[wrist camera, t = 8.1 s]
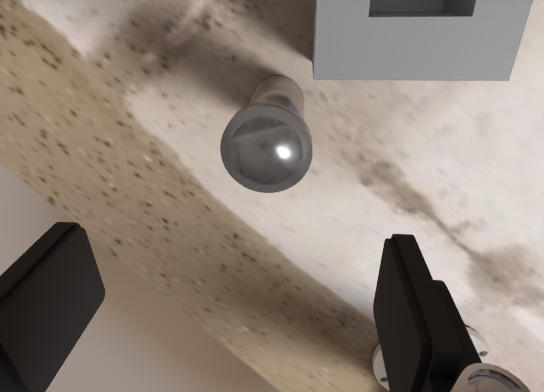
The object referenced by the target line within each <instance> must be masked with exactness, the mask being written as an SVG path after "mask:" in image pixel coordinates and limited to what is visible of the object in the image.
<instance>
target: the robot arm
mask: <svg viewBox="0 0 544 392" xmlns="http://www.w3.org/2000/svg"><path fill="white" fill-rule="evenodd" d="M104 297H105V288H104V286H103V282H102V279H101V276H100V273H99V270H98V267H97V264H96V261H95V258H94V255H93V252H92V249H91V246H90V243H89V240H88V237H87V234H86V231H85V229H84V228H82V227H81V226H80V225H79V224H78V223H74V222H57V223H55V224H54V225H53V226H52V227H51V228H50V229H49V230H48V231H47V232H46V233H45V234H44V235H43V236H42V237H40V238H39V239H38V240H37V241H36V242H35V243H34V244H33V245H32V246H31V247H30V248H29V249H28V250H27V251H26V252H25V253H24V254H23V255H22V256H21V257H20V258H19V259H18V260H17V261H15V262H14V263H13V264H12V265H11V266H10V267H9V268H8V269H7V270H6V271H5V272H4V273H3V274H2V275H1V276H0V392H45V391H46V390H47V388H48V387H49V385H50V383H51V382H52V380H53V379H54V377H55V376H56V374H57V372H58V371H59V369H60V368H61V366H62V365H63V363H64V361H65V360H66V358H67V357H68V355H69V354H70V352H71V350H72V349H73V347H74V346H75V344H76V342H77V341H78V339H79V338H80V336H81V335H82V333H83V332H84V330H85V328H86V327H87V325H88V323H89V322H90V321H91V319H92V317H93V316H94V314H95V313H96V311H97V309H98V308H99V306H100V305H101V303H102V302H103V300H104ZM373 311H374V318H375V322H376V327H377V332H378V337H379V342H380V343H379V344H378V346H377V347H376V349H375V351H374V354H373V356H372V365H373V370H374V374H375V376H376V379H377V380H378V381H379V383H380V384H381V385H382V386H383V387H385V388H386V389H387V390H389V391H390V392H530V390H529V389H528V387H527V386H526V385H525V384H524V383H523V382H522V381H521V380H520V379H519V378H517V377H516V376H514V375H513V374H512V373H510V372H509V371H507V370H505V369H503V368H501V367H498V366H496V365H492V363H493V362H492V354H491V351H490V349H489V347H488V345H487V343H486V341H485V340H484V339H483V338H482V337H481V336H480V334H479V333H477V332H475V331H474V330H472V329H471V328H468V327H466V326H465V325H464V322H463V320H462V318H461V316H460V314H459V312H458V310H457V307H456V305H455V303H454V301H453V299H452V297H451V295H450V292H449V290H448V288H447V286H446V285H445V283H444V282H443V281H441V280H433V279H432V276H431V274H430V272H429V269H428V267H427V265H426V262H425V260H424V258H423V255H422V253H421V251H420V249H419V246H418V244H417V242H416V239H415V237H414V235H408V234H393V235H392V237H391V239H385V242H384V248H383V253H382V259H381V264H380V270H379V276H378V281H377V287H376V292H375V298H374V305H373Z"/></svg>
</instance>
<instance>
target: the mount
mask: <svg viewBox="0 0 544 392" xmlns="http://www.w3.org/2000/svg"><path fill="white" fill-rule="evenodd" d="M532 2H533V0H315V6H314V31H313V55H312V65H313V79H314V80H439V81H509V78H510V75H511V71H512V68H513V65H514V61H515V58H516V55H517V51H518V48H519V45H520V41H521V38H522V35H523V32H524V28H525V25H526V22H527V18H528V15H529V12H530V8H531V5H532Z"/></svg>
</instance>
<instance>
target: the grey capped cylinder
mask: <svg viewBox="0 0 544 392" xmlns="http://www.w3.org/2000/svg"><path fill="white" fill-rule="evenodd" d="M220 148H221V157H222V161H223V163H224V166H225V168H226V169H227V171H228V173H229V174H230V175H231V176H232V177H233V178H234V179H235V180H236V181H237V182H238V183H239V184H241V185H243V186H244V187H246V188H248V189H251V190H254V191H257V192H264V193H273V192H279V191H283V190H286V189H288V188H290V187H292V186H294V185H295V184H296V183H298V182H299V181H300V180H301V179H302V178H303V177H304V175H305V174H306V172H307V171H308V169H309V166H310V164H311V160H312V138H311V134H310V131H309V128H308V126H307V124H306V123H305V121H304V96H303V93H302V90H301V89H300V87H299V86H298V84H297V83H296V82H294V81H293V80H292V79H290V78H288V77H284V76H272V77H269V78H267V79H265V80H263V81H262V82H261V83H260V84H259V85H258V86H257V88H256V90H255V92H254V94H253V96H252V98H251V100H250V102H249V104H248V106H246V107H244V108H243V109H241V110H240V111H238V112H237V113H236V114H235V115H234V116H233V118H232V119H231V120H230V122H229V123H228V125H227V127H226V129H225V131H224V133H223V135H222V139H221V146H220Z"/></svg>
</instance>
